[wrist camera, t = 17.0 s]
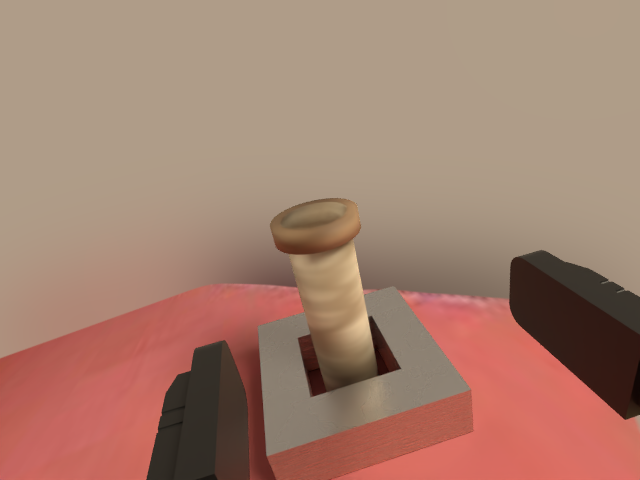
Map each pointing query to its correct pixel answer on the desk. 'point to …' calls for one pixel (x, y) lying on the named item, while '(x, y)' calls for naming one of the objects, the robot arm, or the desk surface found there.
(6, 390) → the desk surface
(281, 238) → the wooden pin
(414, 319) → the socket block
